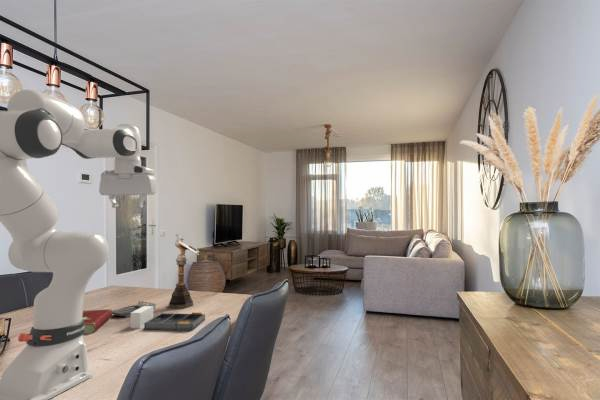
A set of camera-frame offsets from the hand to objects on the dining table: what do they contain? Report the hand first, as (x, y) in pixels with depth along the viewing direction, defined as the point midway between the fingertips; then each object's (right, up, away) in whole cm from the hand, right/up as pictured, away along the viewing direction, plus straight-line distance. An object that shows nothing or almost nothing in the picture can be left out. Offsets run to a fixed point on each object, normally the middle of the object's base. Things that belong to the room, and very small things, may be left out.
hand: (127, 207), depth 128 cm
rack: (+14, -47, +11) cm, 50 cm away
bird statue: (+7, -49, +43) cm, 65 cm away
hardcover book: (-22, -48, +11) cm, 54 cm away
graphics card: (-13, -49, +30) cm, 58 cm away
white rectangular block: (0, -47, +12) cm, 49 cm away
